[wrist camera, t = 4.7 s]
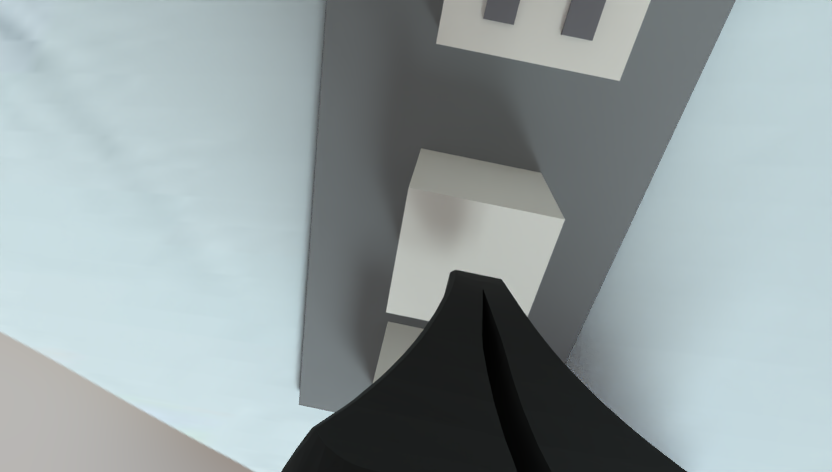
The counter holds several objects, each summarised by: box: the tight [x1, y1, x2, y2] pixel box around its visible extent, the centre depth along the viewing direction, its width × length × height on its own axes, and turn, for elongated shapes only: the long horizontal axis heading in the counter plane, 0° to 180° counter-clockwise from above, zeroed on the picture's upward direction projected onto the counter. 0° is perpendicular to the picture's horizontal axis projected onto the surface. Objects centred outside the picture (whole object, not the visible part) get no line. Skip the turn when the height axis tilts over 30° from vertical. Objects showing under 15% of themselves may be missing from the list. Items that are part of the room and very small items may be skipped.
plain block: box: [386, 148, 565, 321], centre depth 14 cm, size 4×4×4 cm
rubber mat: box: [299, 0, 736, 412], centre depth 16 cm, size 25×12×1 cm, turn 170°
